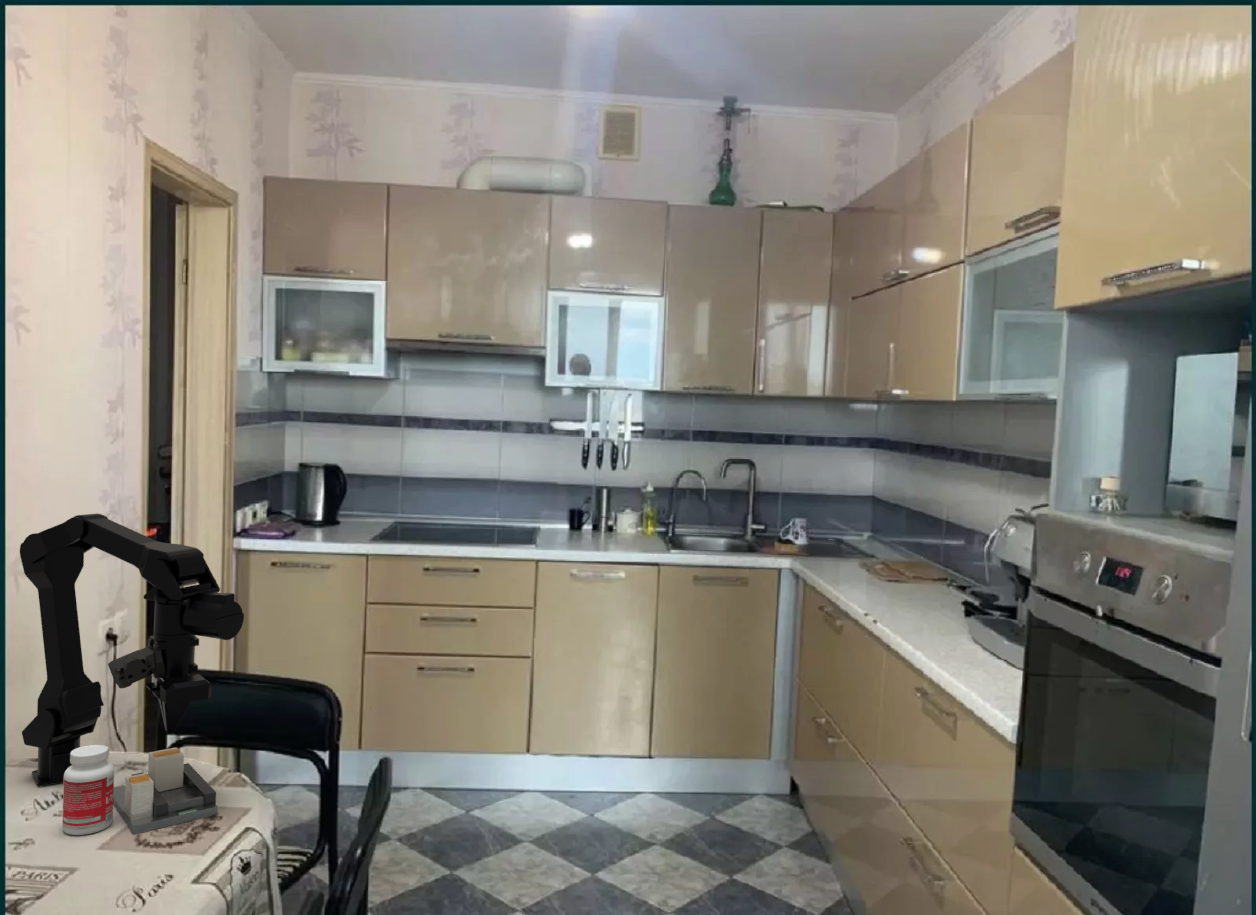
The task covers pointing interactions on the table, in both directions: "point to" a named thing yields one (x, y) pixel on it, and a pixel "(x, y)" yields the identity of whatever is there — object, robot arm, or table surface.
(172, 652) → the robot arm
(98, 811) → the pill bottle
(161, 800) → the grey desk organizer
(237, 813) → the table surface
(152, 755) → the block
